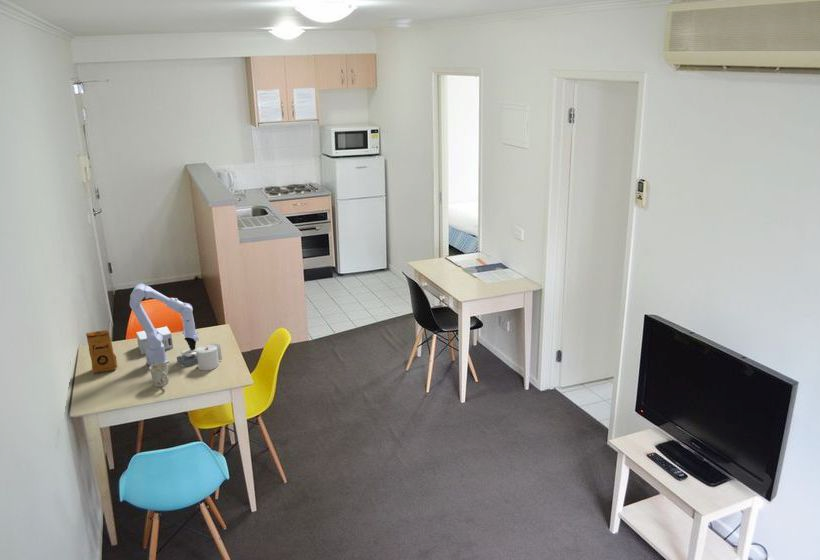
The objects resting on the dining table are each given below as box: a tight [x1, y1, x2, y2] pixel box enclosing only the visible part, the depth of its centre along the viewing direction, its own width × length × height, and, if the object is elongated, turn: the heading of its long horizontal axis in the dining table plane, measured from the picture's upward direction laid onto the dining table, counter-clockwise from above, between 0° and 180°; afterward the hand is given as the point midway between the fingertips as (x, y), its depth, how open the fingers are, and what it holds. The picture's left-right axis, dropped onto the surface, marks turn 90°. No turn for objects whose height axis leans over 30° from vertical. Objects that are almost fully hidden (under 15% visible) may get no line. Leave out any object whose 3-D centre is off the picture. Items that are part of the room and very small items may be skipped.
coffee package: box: [85, 329, 118, 374], centre depth 343 cm, size 10×12×22 cm
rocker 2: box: [185, 352, 197, 357], centre depth 351 cm, size 6×3×1 cm, turn 134°
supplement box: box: [136, 325, 174, 356], centre depth 371 cm, size 17×13×9 cm
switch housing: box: [176, 350, 198, 368], centre depth 353 cm, size 11×9×5 cm
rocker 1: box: [180, 348, 195, 355], centre depth 354 cm, size 6×3×1 cm, turn 133°
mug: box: [149, 363, 170, 388], centre depth 326 cm, size 8×13×10 cm, turn 51°
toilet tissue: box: [195, 343, 223, 371], centre depth 347 cm, size 11×12×10 cm
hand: (192, 349), depth 356 cm, fingers closed, pressing on rocker 1
